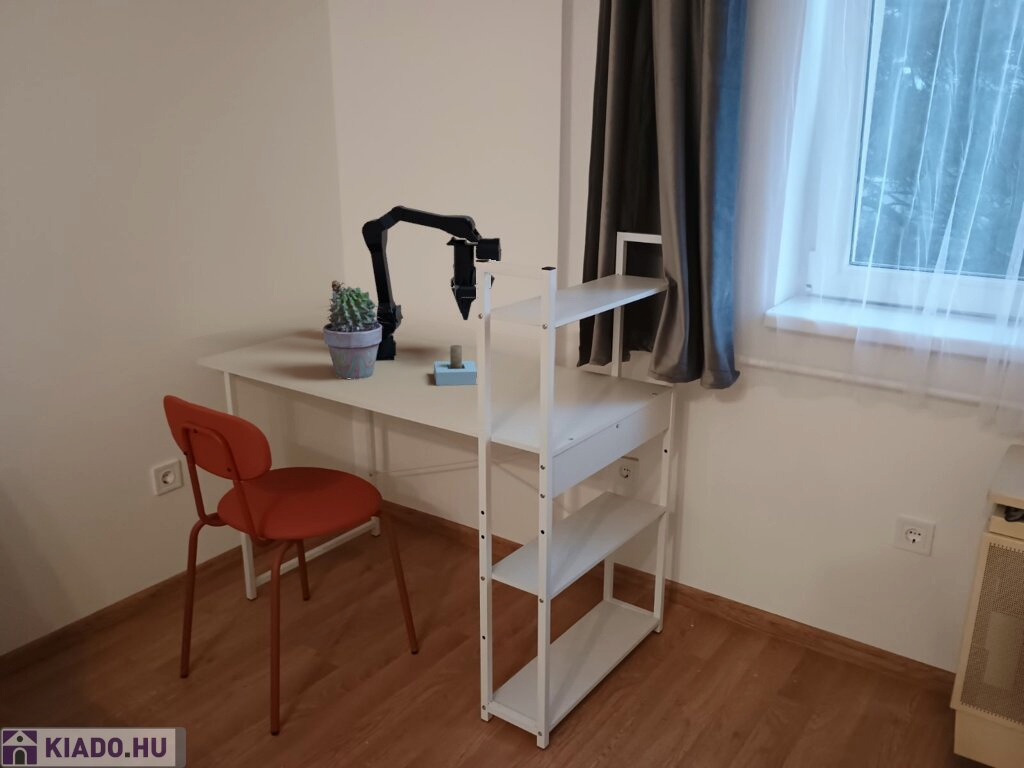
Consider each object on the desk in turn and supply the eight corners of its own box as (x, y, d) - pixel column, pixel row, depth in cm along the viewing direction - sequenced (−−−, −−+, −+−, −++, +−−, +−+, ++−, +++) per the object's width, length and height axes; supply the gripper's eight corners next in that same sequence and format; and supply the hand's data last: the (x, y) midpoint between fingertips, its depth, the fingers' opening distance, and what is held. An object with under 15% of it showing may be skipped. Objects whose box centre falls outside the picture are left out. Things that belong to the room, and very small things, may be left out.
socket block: (436, 385, 231) (436, 372, 230) (433, 374, 241) (433, 361, 240) (478, 384, 232) (478, 371, 232) (474, 373, 243) (474, 360, 242)
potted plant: (379, 386, 229) (376, 291, 222) (309, 380, 234) (304, 286, 227) (403, 369, 246) (401, 279, 239) (337, 363, 250) (334, 275, 243)
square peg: (450, 380, 235) (450, 348, 233) (450, 377, 238) (449, 345, 236) (462, 380, 236) (462, 347, 233) (461, 377, 239) (461, 345, 236)
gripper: (496, 266, 240) (496, 323, 244) (488, 256, 258) (488, 309, 262) (455, 266, 238) (456, 323, 243) (450, 257, 256) (450, 310, 260)
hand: (464, 316), depth 252 cm, fingers open, 9 cm apart
